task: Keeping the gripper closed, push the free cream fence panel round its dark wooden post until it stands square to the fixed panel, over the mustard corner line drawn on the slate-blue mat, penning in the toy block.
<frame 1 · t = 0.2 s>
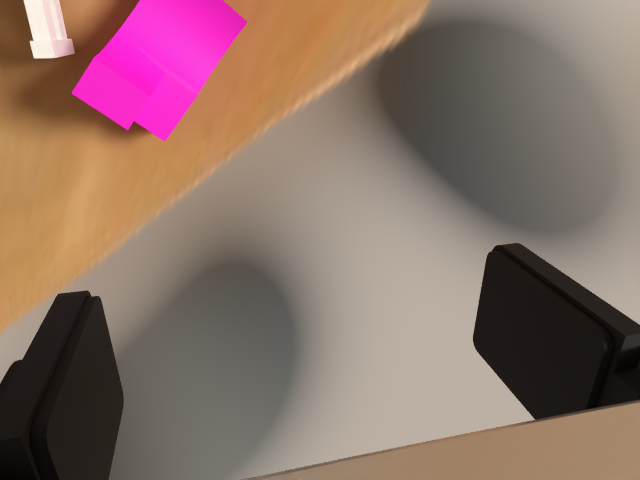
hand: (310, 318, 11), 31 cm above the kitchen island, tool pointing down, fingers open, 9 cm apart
toy block: (187, 23, 35), on the kitchen island, touching layout mat
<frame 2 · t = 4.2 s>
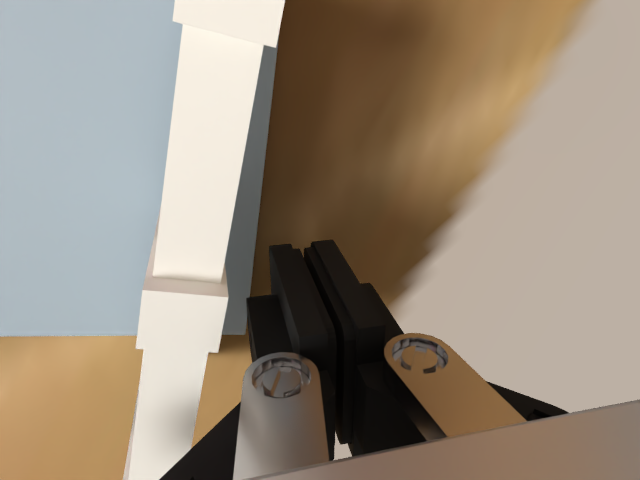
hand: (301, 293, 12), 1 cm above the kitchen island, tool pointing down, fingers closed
swing panel: (187, 245, 9), point 3 cm above the kitchen island, hinge at -4.8°, touching gripper
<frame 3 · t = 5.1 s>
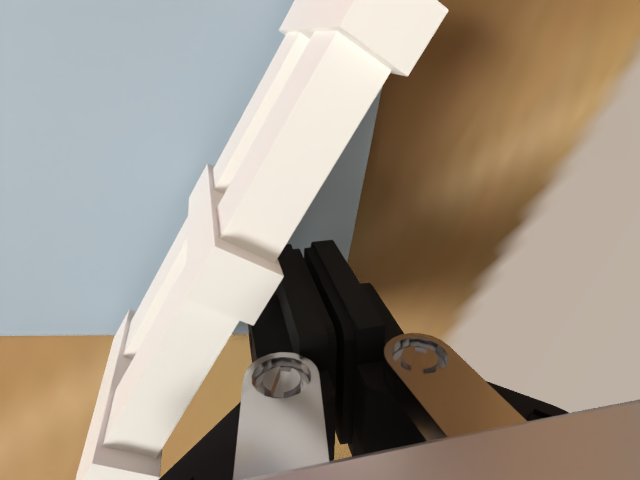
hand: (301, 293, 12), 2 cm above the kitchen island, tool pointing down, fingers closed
swing panel: (228, 223, 9), point 3 cm above the kitchen island, hinge at -22.9°, touching gripper
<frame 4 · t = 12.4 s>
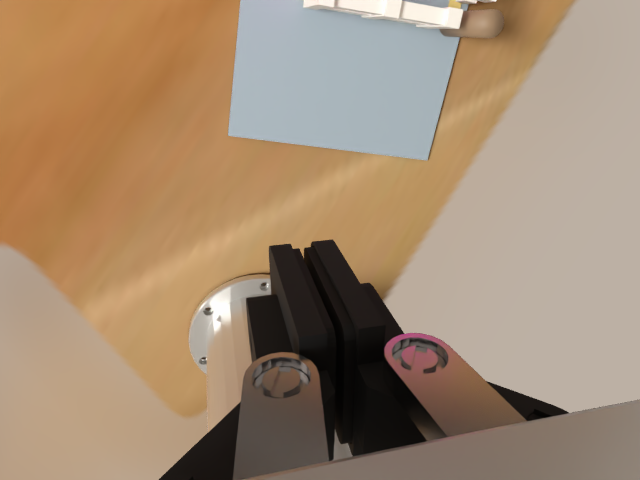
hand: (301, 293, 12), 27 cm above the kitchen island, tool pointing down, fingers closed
fixed panel and post: (447, 24, 37), on the kitchen island
swing panel: (382, 8, 32), point 3 cm above the kitchen island, hinge at -88.0°
layout mat: (351, 47, 36), on the kitchen island
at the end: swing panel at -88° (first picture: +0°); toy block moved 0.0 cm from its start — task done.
